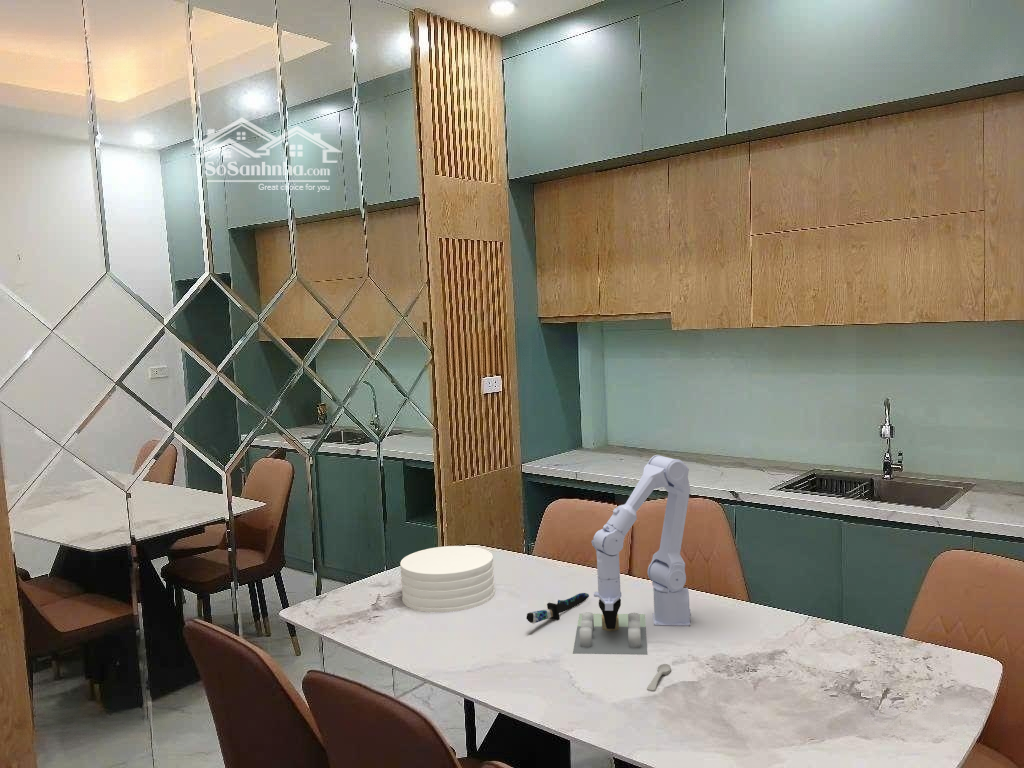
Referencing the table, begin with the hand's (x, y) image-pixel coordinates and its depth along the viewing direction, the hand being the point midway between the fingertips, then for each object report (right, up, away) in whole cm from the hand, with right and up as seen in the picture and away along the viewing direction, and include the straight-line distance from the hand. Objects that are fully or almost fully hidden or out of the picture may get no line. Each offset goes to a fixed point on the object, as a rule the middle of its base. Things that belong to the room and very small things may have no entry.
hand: (610, 627), depth 199 cm
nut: (0, -1, +4) cm, 4 cm away
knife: (-12, -1, +14) cm, 19 cm away
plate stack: (-45, -2, +35) cm, 57 cm away
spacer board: (0, -2, 0) cm, 2 cm away
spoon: (+7, -4, -26) cm, 28 cm away
